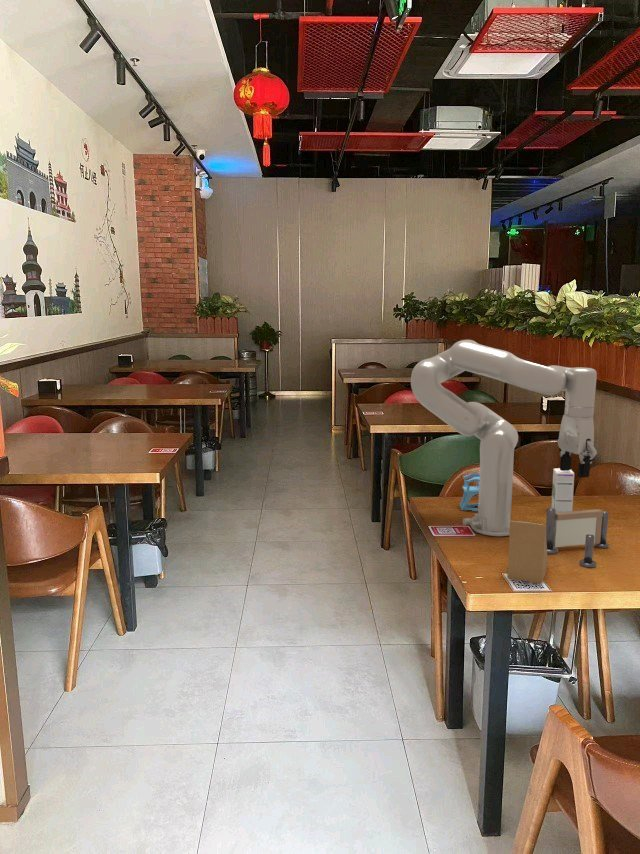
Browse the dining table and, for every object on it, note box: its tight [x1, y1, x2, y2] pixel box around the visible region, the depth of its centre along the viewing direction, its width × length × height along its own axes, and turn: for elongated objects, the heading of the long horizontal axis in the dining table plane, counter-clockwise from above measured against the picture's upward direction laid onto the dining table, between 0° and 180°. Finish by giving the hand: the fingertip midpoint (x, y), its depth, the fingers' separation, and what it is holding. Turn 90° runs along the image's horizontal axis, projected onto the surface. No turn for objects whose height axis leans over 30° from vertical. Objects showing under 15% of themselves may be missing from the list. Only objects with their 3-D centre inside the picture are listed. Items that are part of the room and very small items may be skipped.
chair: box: [459, 472, 480, 512], centre depth 216 cm, size 8×8×12 cm
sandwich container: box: [507, 520, 549, 584], centre depth 165 cm, size 9×15×15 cm, turn 155°
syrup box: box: [550, 467, 575, 513], centre depth 212 cm, size 6×6×14 cm
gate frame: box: [545, 507, 610, 569], centre depth 175 cm, size 21×16×12 cm
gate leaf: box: [553, 508, 604, 548], centre depth 180 cm, size 14×2×9 cm, turn 104°
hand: (574, 473), depth 184 cm, fingers open, 7 cm apart
